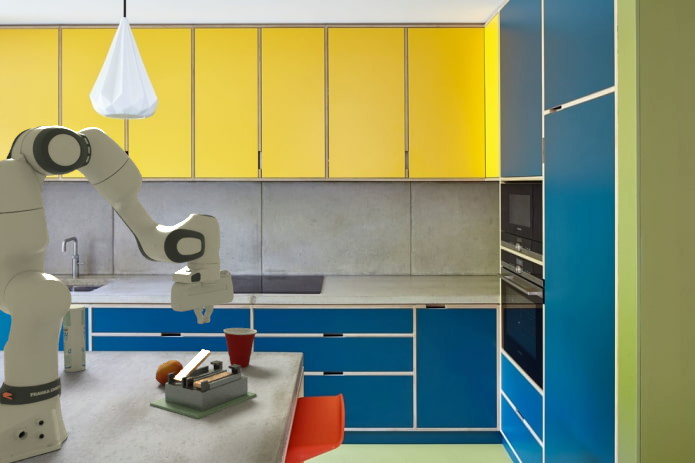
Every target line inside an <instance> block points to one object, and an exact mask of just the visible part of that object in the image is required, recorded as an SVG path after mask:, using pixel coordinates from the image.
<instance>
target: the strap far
mask: <svg viewBox="0 0 695 463" xmlns="http://www.w3.org/2000/svg"><path fill="white" fill-rule="evenodd" d="M211 355H212V353H211V351H210V350H205V349H201V351H200V352H198V353H197V355H196V356H194V358H193V359H192V360H191V361H190V362H189V363H188V364H187V365H186V366H184V367H183V370H182V371H181V372H180V373H179V374H178V375H177V376H176V377H175V378H174V381H175V382H179V383H182V377H185V376H190V375H191V374H192V373H193V372H194V371H195V370H196V369H197V368H200V365H202V364H203V363H204V362H205V361H206V360H207V359H208V358H209V357H210V356H211Z"/></svg>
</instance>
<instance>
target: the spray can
mask: <svg viewBox="0 0 695 463" xmlns="http://www.w3.org/2000/svg"><path fill="white" fill-rule="evenodd" d="M62 327H63V328H62V330H63V333H62V336H63V361H64V362H63V363H64V365H63V366H64V368H63V369H64V371H65V372H68V373H69V372H70V373H73V372H82V371H84V370H86V365H87V364H86V361H87V360H86V358H87V357H86V306H85V305H83V304H71V306H70V308H69V310H68V312H67V313H66V315H65V316H64V318H63V322H62Z"/></svg>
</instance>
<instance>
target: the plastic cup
mask: <svg viewBox="0 0 695 463" xmlns="http://www.w3.org/2000/svg"><path fill="white" fill-rule="evenodd" d="M223 332H224V336H225V340H226V347H227V351H228V357H229V363H230V364H229V365H233V364H236V365H241V369H243V368H247V367H249V365H250V362H251V355H252V351H253V347H254V346H253V345H254V341H255V337H256V334H257V333H258V331H257V329H254V328H244V327H231V328H225V329H223Z"/></svg>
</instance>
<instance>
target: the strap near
mask: <svg viewBox="0 0 695 463" xmlns="http://www.w3.org/2000/svg"><path fill="white" fill-rule="evenodd" d="M232 375H233V373H232V372H228V371H227V372H223V373H220V374H217V375H214V376H211V377H208V378H205V379H202V380H199V381H196V382H193V386H195V387H199V388H201V382H203V381H206V380H208V383H211V382H214V381H217V380H220V379H223V378H226V377H229V376H232Z"/></svg>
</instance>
